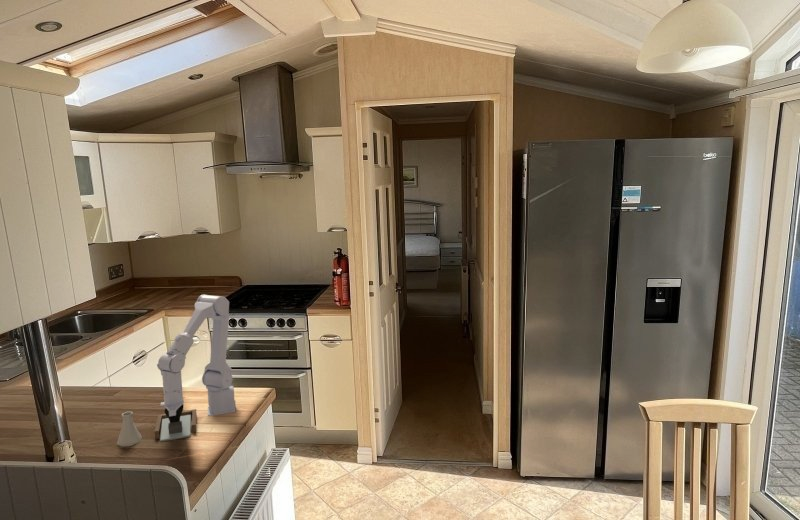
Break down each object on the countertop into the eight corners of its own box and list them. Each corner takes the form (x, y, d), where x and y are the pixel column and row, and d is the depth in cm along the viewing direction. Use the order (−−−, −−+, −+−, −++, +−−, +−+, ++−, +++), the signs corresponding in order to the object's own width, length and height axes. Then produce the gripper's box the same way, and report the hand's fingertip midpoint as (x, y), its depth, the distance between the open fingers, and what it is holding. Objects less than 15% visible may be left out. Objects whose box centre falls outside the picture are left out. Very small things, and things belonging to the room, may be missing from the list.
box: (196, 417, 180) (196, 409, 179) (196, 433, 167) (195, 424, 167) (159, 423, 175) (158, 414, 175) (155, 440, 163) (154, 431, 163)
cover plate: (190, 416, 173) (189, 407, 172) (190, 437, 165) (189, 428, 163) (162, 421, 170) (161, 412, 168) (160, 442, 162) (159, 433, 160)
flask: (131, 449, 158) (128, 419, 156) (111, 446, 159) (109, 417, 158) (147, 438, 165) (144, 409, 163) (128, 436, 166) (125, 407, 165)
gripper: (161, 383, 170) (164, 420, 172) (157, 399, 157) (160, 439, 158) (183, 380, 173) (186, 417, 174) (181, 395, 159) (184, 435, 161)
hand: (175, 427), depth 167 cm, fingers closed, pressing on cover plate
